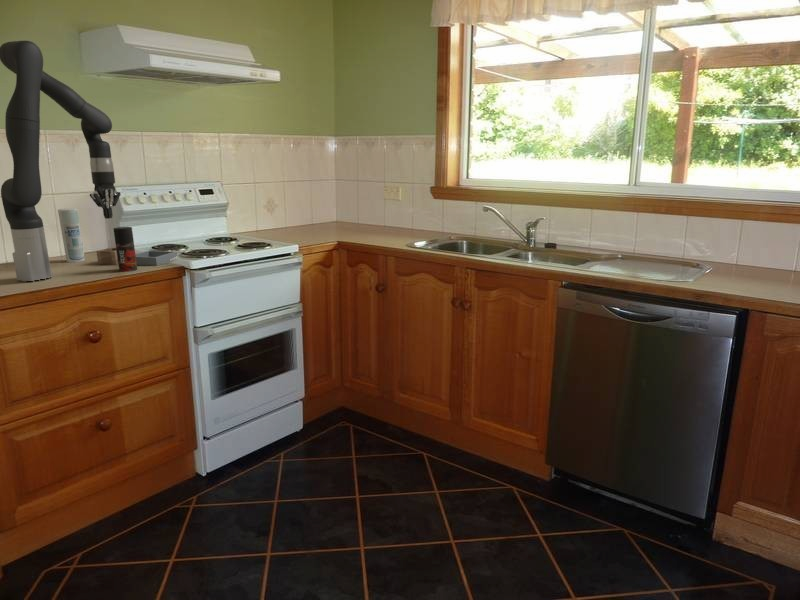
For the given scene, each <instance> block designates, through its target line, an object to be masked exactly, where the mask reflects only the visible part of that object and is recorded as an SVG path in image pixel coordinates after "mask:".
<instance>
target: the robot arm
mask: <svg viewBox="0 0 800 600" xmlns="http://www.w3.org/2000/svg"><path fill="white" fill-rule="evenodd" d="M43 56H44V55H43V52H42V50H41V49H40V47H39V46H38V45H37V43H35V42H33V41H30V40H18V41H17V40H15V41H12V40H11V41H8V42H4V43H2V44H1V45H0V62H1V63H2V65H3V66H4V67H5V68H6V69H8V70H9V71H10V72H12V73H14V74H15V77H16V78H15V79H16V81H15V87H14V91H13V93H12V95H11V98H10V100H9V102H8V104H7V108H6V110H5V116H4V117H5V122H4V123H5V125H4V126H5V129H4V130H5V137H6V141H7V144H8V147H9V150H10V153H11V156H12V161H13V170H12V172H13V174H12V177H11V178H8V179H6V180H4V182H3V183H2V184H1V188H0V196H1V201H2V205H3V206H2V207H3V210H4V214H5V215H4V216H5V218H6V220H7V222H8V225H9V227H10V233H11V238H12V243H13V249H14V252H12V259H13V264H14V269H15V274H16V275H15V276H16V281H17V280H22V281H21V282H26V281H33V282H35V281H34V280H39V281H41V280H40V279H45V280H47V279H46V278H49V279H51V278H53V275H52V267H51V264H50V258H49V257H50V256H49V252H48V251H49V250H48V247H47V246H48V245H47V240H46V234H45V233H46V232H45V228H44V222H43V219H42V218H41V216H39V214H38V212H37V210H36V205H38V204H39V203H40V202H41V200H42V196H43V195H42V191H43V190H42V182H41V174H40V172H41V171H40V137H41V135H40V134H41V131H40V130H41V125H40V124H41V118H40V113H41V112H40V109H41V106H40V105H41V92H42V93H44V94H45V95H46V96H47V97H49V98H50V99H51V100H53V101H54V102H55V103H56V104H58V105H59V106H60V107H61V109H63V110H65V111H66V113H68V114H69V115H70V116H72V117H73V118H75V119H80V127H81V128H80V129H81V131H82V134H83V137H84V138H85V142H86V144H87V146H88V152H89V153H88V154H89V160H90V161H89V162H90V163H89V165H90V174H91V181H92V184H94V188H93V189H94V190H93V192H92V193H89V197H90V199H92V201H93V202H94V204H95V205H96V206H97V207H98V208H102V211H103V214H102V215H103V217H104V219H113V207H116V205H117V203H118V201H119V199H120V197H121V192H120V191H118V190H116V187H115V185H114V184H116V178H115V170H114V169H115V168H114V163H113V160H112V159H113V158H112V150H111V146H110V143H109V142H107V141H104V140H103V139H102V137H101V135H104V134H105V135H107V134H109V133H110V132H111V131H112V130H113V129H112V128H113V124H112V120H111V118H110V117H109V116H108V115H107V114H106V113H105V112H104V111H102V110H101V109H99V108H98V107H96V106H94V105H92V104H91V103H89V102H87V101H86V100H85V99H84V98H83V96H81V95H80V94H78V93H77V92H76V91H75V90H74V89H73V88H72V87H70V86H69V85H68V84H65V83H64V82H62V81H60V80H59V79H57V78H55V77H54V76H52V75H50V74H48V72H46V71H45V70H43V69H44V57H43ZM50 277H51V278H50Z"/></svg>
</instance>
